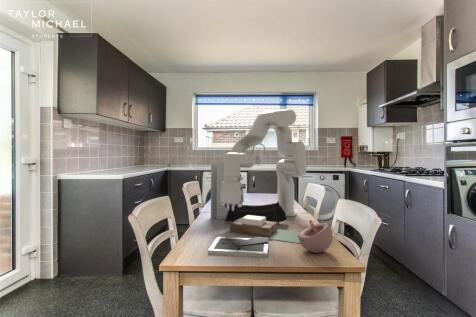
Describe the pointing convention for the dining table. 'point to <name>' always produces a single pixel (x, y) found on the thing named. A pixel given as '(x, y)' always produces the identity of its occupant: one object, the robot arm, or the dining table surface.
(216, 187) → the tall grey block
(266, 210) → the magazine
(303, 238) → the mortar and pestle
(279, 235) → the mat
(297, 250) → the dining table surface
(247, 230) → the block
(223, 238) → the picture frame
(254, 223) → the tile
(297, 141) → the robot arm
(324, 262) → the dining table surface
